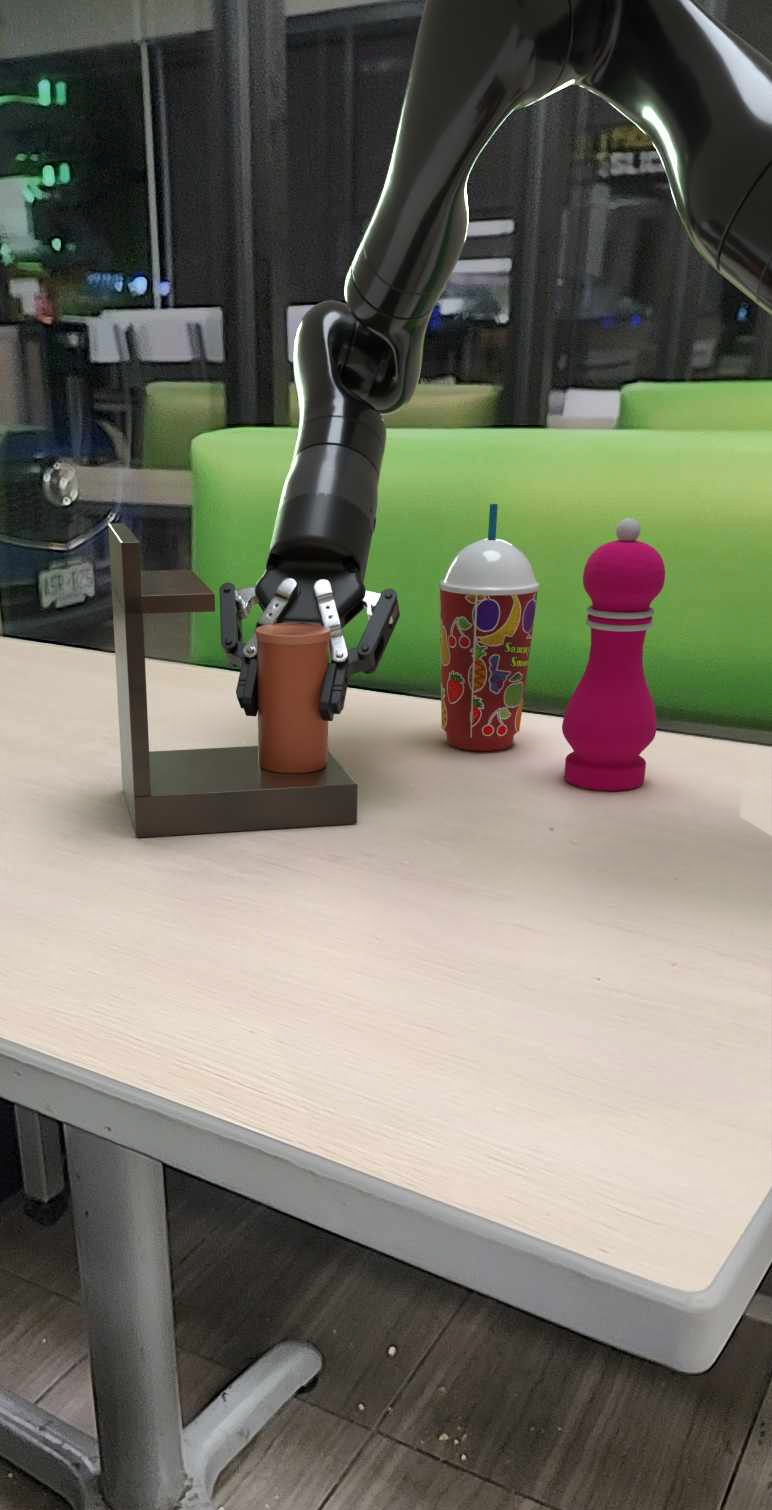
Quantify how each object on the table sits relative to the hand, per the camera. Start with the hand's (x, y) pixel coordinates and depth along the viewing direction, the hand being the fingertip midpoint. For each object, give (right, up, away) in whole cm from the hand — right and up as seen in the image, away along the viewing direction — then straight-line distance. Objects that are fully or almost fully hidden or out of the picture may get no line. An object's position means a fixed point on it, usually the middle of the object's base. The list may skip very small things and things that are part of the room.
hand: (287, 712), depth 96 cm
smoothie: (+17, +1, +21) cm, 27 cm away
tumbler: (0, -3, +3) cm, 5 cm away
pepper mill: (+25, -4, +10) cm, 27 cm away
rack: (-4, -6, +4) cm, 8 cm away
